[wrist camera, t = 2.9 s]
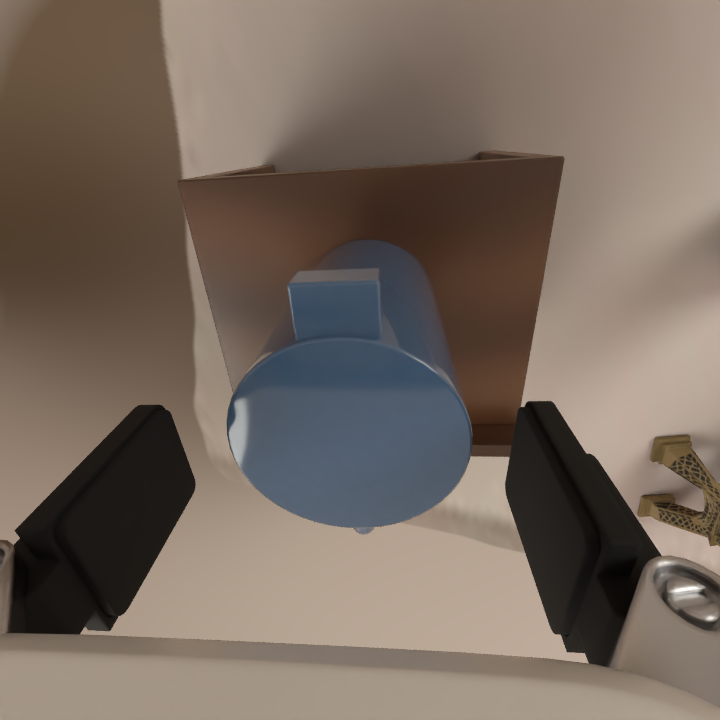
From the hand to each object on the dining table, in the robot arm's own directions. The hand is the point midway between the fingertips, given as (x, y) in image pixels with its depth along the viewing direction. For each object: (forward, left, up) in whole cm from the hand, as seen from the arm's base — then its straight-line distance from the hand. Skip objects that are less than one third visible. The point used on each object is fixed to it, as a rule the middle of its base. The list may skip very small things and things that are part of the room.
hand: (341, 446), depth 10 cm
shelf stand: (+1, 0, -22) cm, 22 cm away
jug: (0, 0, -10) cm, 10 cm away
